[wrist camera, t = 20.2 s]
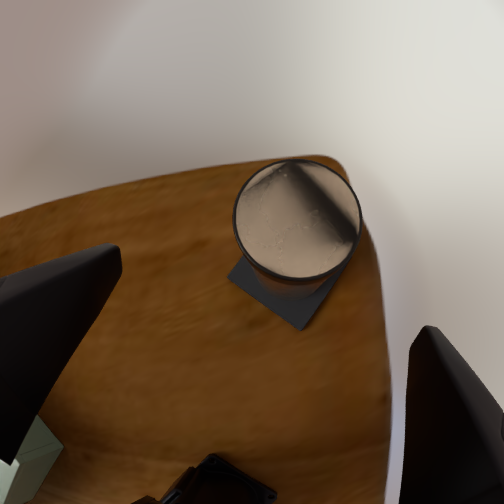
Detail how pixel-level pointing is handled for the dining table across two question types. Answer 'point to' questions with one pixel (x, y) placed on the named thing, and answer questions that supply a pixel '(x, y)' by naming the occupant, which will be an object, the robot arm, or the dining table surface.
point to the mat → (288, 310)
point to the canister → (296, 226)
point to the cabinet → (29, 465)
